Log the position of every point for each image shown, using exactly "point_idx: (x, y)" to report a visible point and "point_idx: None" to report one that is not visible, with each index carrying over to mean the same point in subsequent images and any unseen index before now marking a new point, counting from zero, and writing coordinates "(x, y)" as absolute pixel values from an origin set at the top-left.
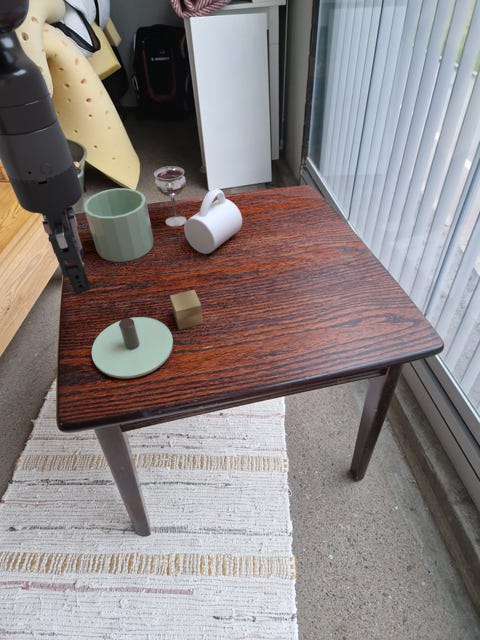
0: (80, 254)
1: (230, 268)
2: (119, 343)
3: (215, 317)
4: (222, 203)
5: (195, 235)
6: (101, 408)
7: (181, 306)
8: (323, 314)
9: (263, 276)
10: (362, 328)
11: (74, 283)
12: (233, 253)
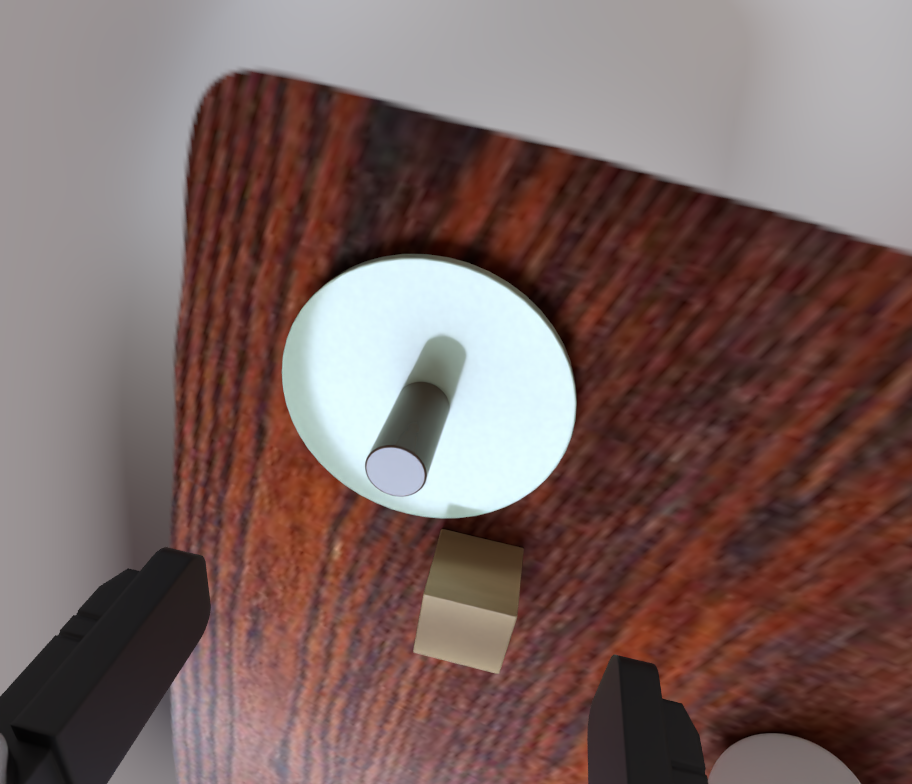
0: (593, 720)
1: None
2: (453, 370)
3: None
4: None
5: None
6: (215, 206)
7: (437, 615)
8: (326, 752)
9: (525, 760)
10: (258, 765)
11: (56, 642)
12: None
